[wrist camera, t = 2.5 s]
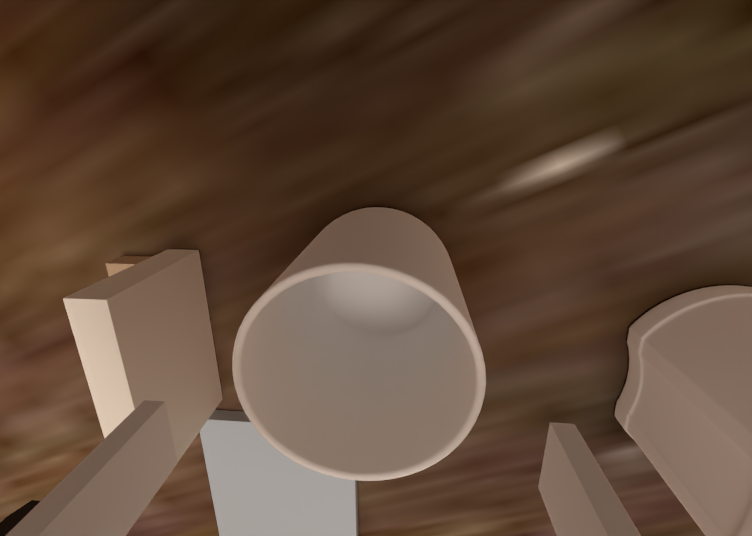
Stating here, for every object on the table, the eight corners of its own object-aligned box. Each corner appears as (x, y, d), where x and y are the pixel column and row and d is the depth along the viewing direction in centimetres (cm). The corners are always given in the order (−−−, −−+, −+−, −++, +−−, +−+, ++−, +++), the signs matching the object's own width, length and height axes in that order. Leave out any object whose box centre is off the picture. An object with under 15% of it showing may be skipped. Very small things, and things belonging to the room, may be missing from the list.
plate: (204, 409, 27) (197, 418, 26) (355, 417, 26) (353, 428, 25) (227, 536, 31) (222, 549, 30) (358, 547, 31) (356, 560, 30)
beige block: (121, 248, 23) (-2, 295, 16) (198, 250, 23) (106, 299, 16) (155, 394, 27) (66, 486, 20) (222, 398, 27) (156, 492, 20)
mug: (309, 375, 26) (244, 531, 15) (308, 198, 22) (220, 252, 11) (436, 388, 25) (455, 558, 15) (460, 209, 21) (507, 275, 11)
